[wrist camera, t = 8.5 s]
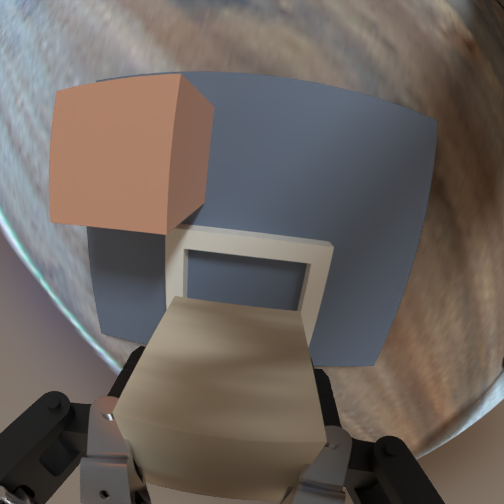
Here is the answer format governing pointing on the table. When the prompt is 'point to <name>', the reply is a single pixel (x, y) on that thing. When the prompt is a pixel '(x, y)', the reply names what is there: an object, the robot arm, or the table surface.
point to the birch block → (223, 401)
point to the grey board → (285, 217)
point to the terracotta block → (129, 153)
